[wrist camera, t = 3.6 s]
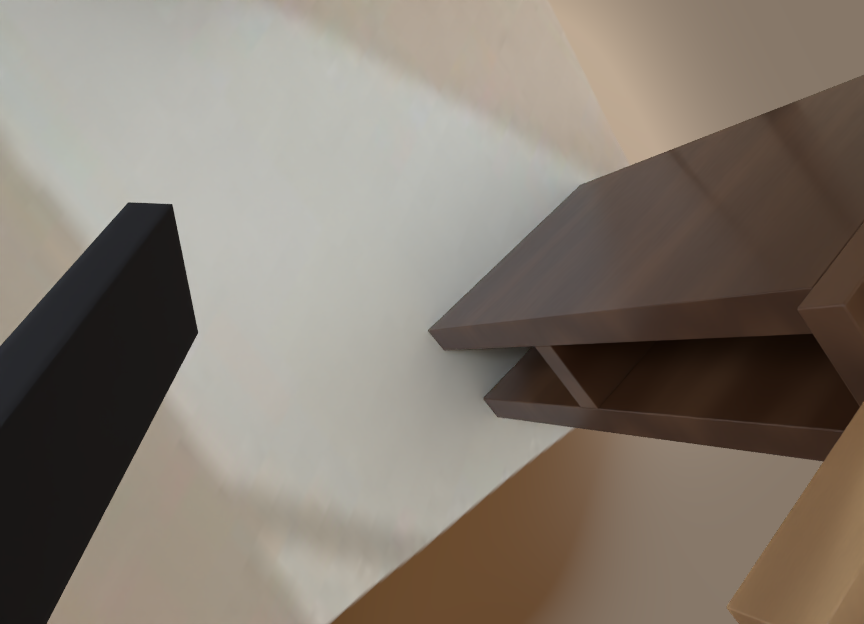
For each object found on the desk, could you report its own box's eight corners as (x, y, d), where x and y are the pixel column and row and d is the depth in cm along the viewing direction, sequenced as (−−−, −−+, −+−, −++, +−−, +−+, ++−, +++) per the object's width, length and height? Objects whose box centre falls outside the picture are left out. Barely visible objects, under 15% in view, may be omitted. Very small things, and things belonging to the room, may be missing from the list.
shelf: (417, 340, 47) (962, 295, 17) (580, 184, 53) (1186, -51, 23) (488, 427, 48) (1098, 530, 18) (638, 266, 55) (1271, 147, 25)
